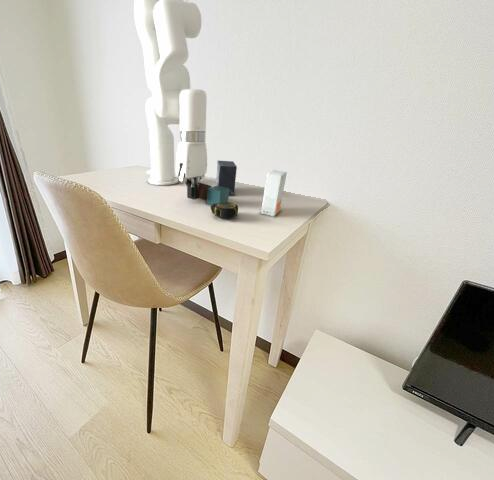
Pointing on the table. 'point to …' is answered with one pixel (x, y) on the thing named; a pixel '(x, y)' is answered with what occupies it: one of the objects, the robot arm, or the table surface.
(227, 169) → the small box
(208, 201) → the teal block
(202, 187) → the walnut block
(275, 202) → the cosmetic box
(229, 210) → the tape measure
